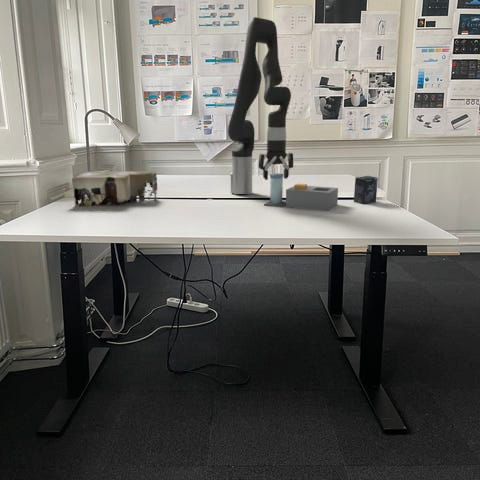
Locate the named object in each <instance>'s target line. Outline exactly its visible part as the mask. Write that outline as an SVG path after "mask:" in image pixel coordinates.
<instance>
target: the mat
mask: <svg viewBox="0 0 480 480" xmlns="http://www.w3.org/2000/svg"><path fill="white" fill-rule="evenodd" d="M263 206H264V207H265V206H266V207H275V208H283V207H286V201H282V204H271V203H270V201H267V202H265V203H263Z"/></svg>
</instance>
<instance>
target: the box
mask: <svg viewBox="0 0 480 480" xmlns="http://www.w3.org/2000/svg"><path fill="white" fill-rule="evenodd" d="M378 180H379V178H378V177H376V176H370V175H365V176H355V181H354V193H353V194H354V195H353V202H354V203H357V204H362V205H365V204H370V203H376V202H377V193H378V192H377V191H378Z"/></svg>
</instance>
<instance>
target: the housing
mask: <svg viewBox="0 0 480 480" xmlns="http://www.w3.org/2000/svg"><path fill="white" fill-rule="evenodd" d="M338 194H339V187H333V186H332V187H328V186H316V185H315V186H314V185H313V186H312V185H307V188H305V189H295V188H294V186H291V187H288V188H286V189H285V202H286V205H285V207H289V208H296V209H297V208H298V209H308V210H317V211H318V210H320V211H330V210H332V209H333V208H334V207H335V208H336V206H338V203H339V202H338V200H339V198H338V196H339V195H338Z"/></svg>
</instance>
